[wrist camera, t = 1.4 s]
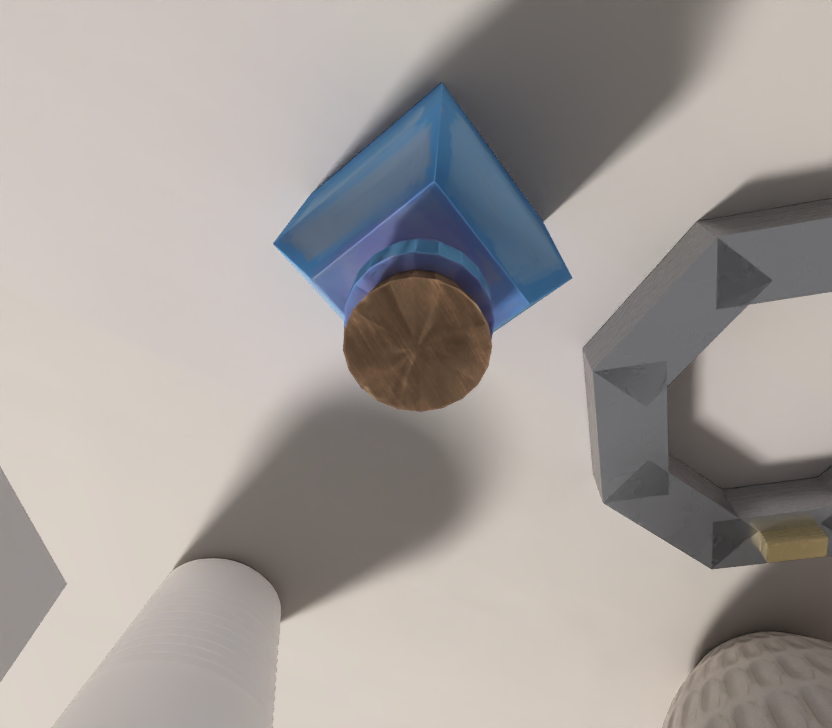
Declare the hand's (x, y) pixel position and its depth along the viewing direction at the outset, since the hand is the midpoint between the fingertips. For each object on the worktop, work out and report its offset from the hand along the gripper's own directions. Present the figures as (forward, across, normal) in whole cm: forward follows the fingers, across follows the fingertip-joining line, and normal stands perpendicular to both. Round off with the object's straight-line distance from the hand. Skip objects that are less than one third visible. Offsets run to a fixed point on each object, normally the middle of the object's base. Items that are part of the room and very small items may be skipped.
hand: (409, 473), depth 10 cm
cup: (+16, -14, -18) cm, 28 cm away
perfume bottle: (+16, 0, 0) cm, 16 cm away
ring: (+16, +13, -10) cm, 23 cm away
